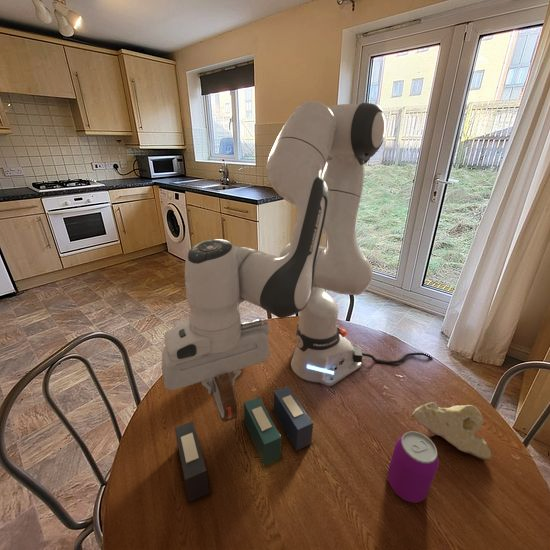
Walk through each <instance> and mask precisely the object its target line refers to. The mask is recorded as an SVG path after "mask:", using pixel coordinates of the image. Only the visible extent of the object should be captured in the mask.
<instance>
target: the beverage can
mask: <svg viewBox="0 0 550 550" xmlns="http://www.w3.org/2000/svg"><path fill="white" fill-rule="evenodd" d="M439 465H440V463H439V455H438V449H437V447H436V445H435V443H434V442H433V441H432V439H430V438H429V437H428V436H427V435H426V434H423V433H422V432H418V431H415V430H414V431H413V430H411V431H406V432H405V433H404V434H403V435H402V436H400V437H399V438H398V439H397V441H396V442H395V444H394V449H393V452H392V455H391V459H390V463H389V465H388V469H387V481H388V484H389V486H390V487H391V489H392V491H393V492H394V493H395V494H396V495H397V496H398V497H399V498H401V499H402V500H404V501H406V502H409V503H413V504H414V503H415V504H416V503H417V504H418V503H420V502H423V501H424V500H425V499H426V498H427V496H428V493H429V491H430V488H431V486H432V483H433V481H434V478H435V476H436V473H437V471H438V468H439Z"/></svg>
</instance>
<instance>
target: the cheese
mask: <svg viewBox="0 0 550 550" xmlns="http://www.w3.org/2000/svg"><path fill="white" fill-rule="evenodd" d="M437 403H439V401H438V400H437V401H435V402H434V401H430V402H427V403H425V404H422V405H420V406H419V407H415V409H414V410H413V411H412V413H411V417H412V418H413V419H414V420H415V422H416V423H417V424H419V425H420V426H422V427H423V428H425V429H426V430H427V432H428V434H429V436H432V437H433V436H440V437H441V438H442V439H444V440H445V441H446V442H447V443H449V444H451V445H452V447H455V448H456V449H457V450H458V451H460V452H463V453H466V454H470V455H471V456H474V457H477V458H478V459H480V460H489V459H491V458H492V454H491V449H490V447H489V446H488V445H489V444H488V443H487V441H486V440H485V438H483V437H481V436H476V434H477V432H478V431H479V430H480V429H481V428H482V426H483V420H484V419H483V418H484V417H483V415H482V413H481V412H480V410H479V409H478V408H477V407H476V406H475V405H472V404H466V405H457V404H456V405H453V406H451V407H440V406H439V405H438V404H437Z"/></svg>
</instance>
